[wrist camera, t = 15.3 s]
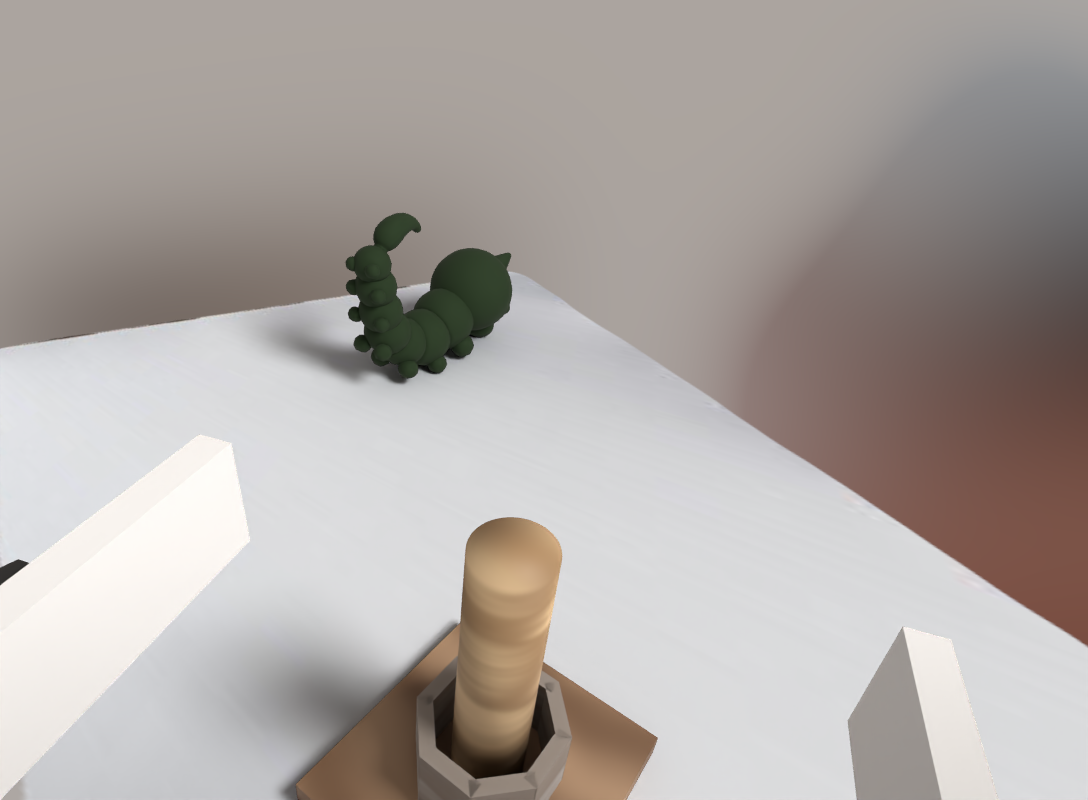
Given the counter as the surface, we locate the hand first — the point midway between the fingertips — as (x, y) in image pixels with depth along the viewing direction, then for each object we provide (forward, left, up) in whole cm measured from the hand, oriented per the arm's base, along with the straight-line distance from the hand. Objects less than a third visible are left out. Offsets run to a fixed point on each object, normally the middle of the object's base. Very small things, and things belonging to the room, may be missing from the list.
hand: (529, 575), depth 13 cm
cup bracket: (-9, -6, -28) cm, 30 cm away
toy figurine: (-44, -40, -28) cm, 66 cm away
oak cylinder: (-9, -6, -26) cm, 28 cm away
